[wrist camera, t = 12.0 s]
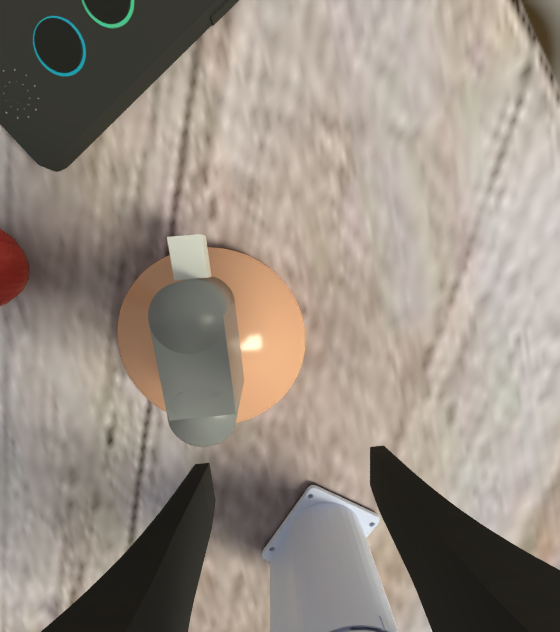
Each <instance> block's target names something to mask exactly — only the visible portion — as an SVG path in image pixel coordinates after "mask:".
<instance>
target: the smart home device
mask: <svg viewBox="0 0 560 632" xmlns="http://www.w3.org/2000/svg"><path fill="white" fill-rule="evenodd" d="M238 1H239V0H0V124H1V125H2V126H3V127H4V128H5V129H6V131H7V132H8V133H9V134H10V135H11V136H12V137H13V138H14V139H15V140H16V141H17V142H18V143H19V144H20V145H21V146H22V148H23V149H24V150H25V151H26V152H27V153H28V154H29V155H30V156H31V157H32V158H33V159H34V160H35V161H36V162H37V164H39V165H40V166H43V167H45V168H48V169H50V170H53V171H61V170H63V169H65V168H67V167H68V166H69V165H70V164H71V163H72V162H73V161H74V160H75V159H76V158H77V157H78V156H79V155H80V154H81V153H82V152H83V151H84V150H85V149H86V148H88V147H89V146H90V145H91V144H92V143H93V142H94V141H95V140H96V139H97V138H98V137H99V136H100V135H101V134H102V133H103V132H104V131H105V130H106V129H107V128H108V127H109V126H110V125H111V124H112V123H113V122H114V121H115V120H116V119H117V118H118V117H119V116H120V115H121V114H122V113H123V112H124V111H125V110H126V109H127V108H128V107H129V106H130V105H131V104H132V103H133V102H134V101H135V100H136V99H137V98H138V97H139V96H140V95H141V94H142V93H143V92H144V91H145V90H146V89H147V88H148V87H149V86H150V85H151V84H152V83H153V82H154V81H156V80H157V79H158V78H159V77H160V76H161V75H162V74H163V73H164V72H165V71H166V70H167V69H168V68H169V67H170V66H171V65H172V64H173V63H174V62H175V61H176V60H177V59H178V58H179V57H180V56H181V55H182V54H183V53H184V52H185V51H186V50H187V49H188V48H189V47H190V46H191V45H192V44H193V43H194V42H195V41H196V40H197V39H198V38H199V37H200V36H201V35H202V34H203V33H204V32H205V31H206V30H207V29H208V28H209V27H210V26H211V25H212V24H213V25H214V24H215V23H216V22H217V21H218V20H219V19H220V18H221V17H222V16H223V15H225V14H226V13H227V12H228V11H229V10H230V9H231V8H232V7H233V6H234V5H235V4H236V3H237V2H238Z"/></svg>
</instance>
